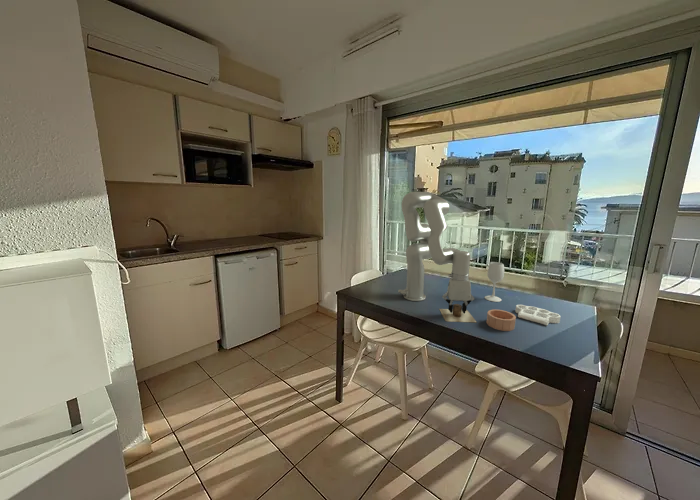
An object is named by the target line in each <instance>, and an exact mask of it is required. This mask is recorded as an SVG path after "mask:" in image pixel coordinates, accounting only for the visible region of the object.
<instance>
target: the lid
mask: <svg viewBox="0 0 700 500" xmlns="http://www.w3.org/2000/svg"><path fill="white" fill-rule="evenodd" d="M452 305H453V311H452V313H451V312H450V311H449V310H448V308H438V309H439V311H440V314H441V316H442V317H443V319H444V321H445V322H449V323H450V322H451V323H453V322H454V323H471V324H472V323H477V321H476V319H475V318H474V317H473V315H472V314H471V313H470V311H469V310H468V309H466V311H465V313H463V312H462V304H459V303H454V304H452Z"/></svg>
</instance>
